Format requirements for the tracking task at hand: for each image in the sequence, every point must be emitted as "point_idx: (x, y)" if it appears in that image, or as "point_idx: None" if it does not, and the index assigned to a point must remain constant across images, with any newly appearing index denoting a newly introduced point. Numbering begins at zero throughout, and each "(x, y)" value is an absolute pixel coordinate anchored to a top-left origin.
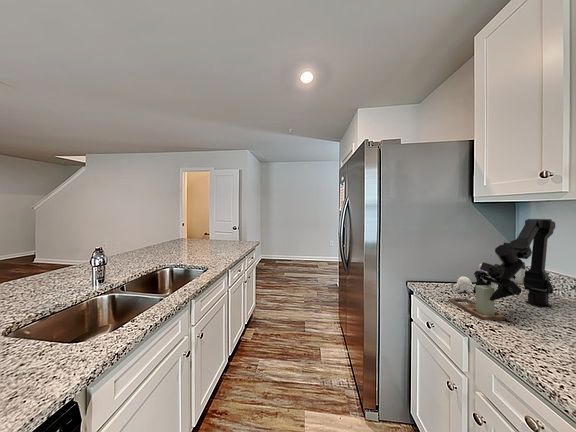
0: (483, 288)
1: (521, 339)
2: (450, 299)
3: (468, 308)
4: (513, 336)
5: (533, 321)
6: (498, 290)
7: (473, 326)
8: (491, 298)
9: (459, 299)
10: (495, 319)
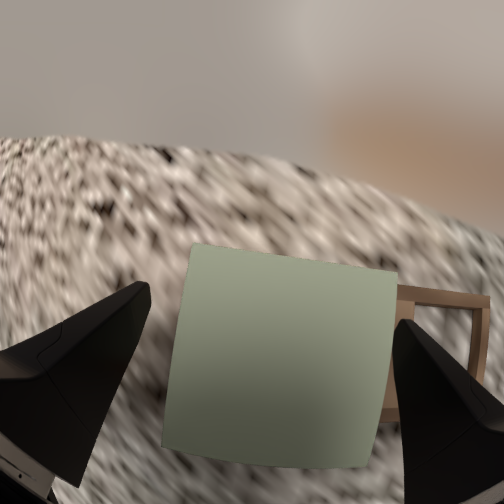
0: (203, 252)
1: (26, 249)
2: (482, 299)
3: None
4: (45, 242)
5: (141, 499)
6: (28, 344)
7: (157, 158)
8: (127, 291)
9: (478, 357)
10: None
